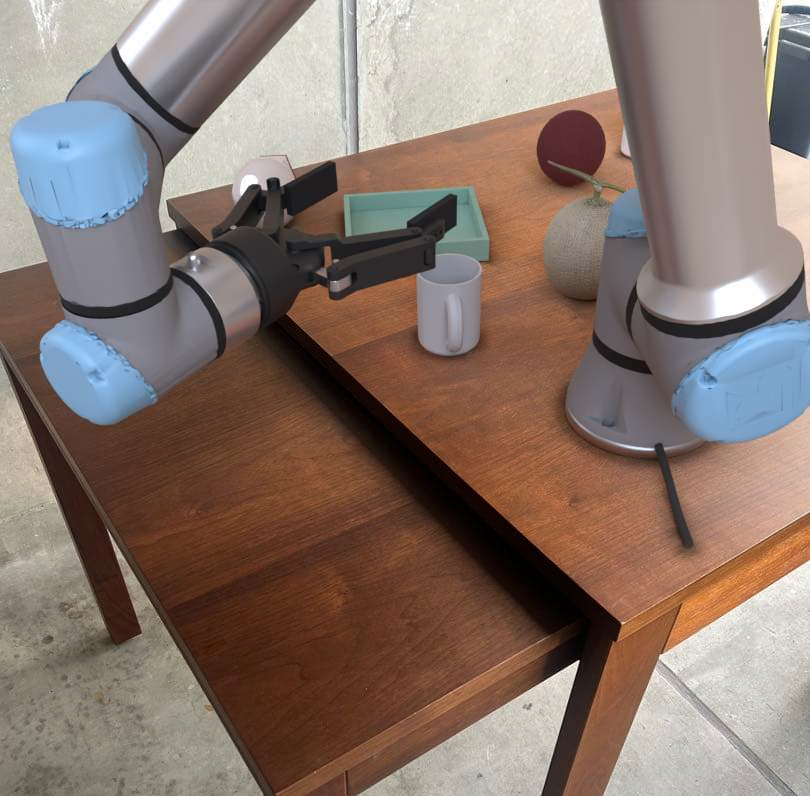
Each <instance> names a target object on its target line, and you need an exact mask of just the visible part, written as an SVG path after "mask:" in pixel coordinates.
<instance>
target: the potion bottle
mask: <svg viewBox="0 0 810 796" xmlns="http://www.w3.org/2000/svg"><path fill="white" fill-rule="evenodd" d="M272 177H276V178H279V179H280V186H283V185H285V184H287V183H289V182H291V181H292V180H294V179H296V178H297V177H296V175H295V172H294V170H293V167H292V165H291V162H290V160H289V158H288V156H287V154H271V155H259V156H255V158H254V159H250V160H248V161H247V162H246V163H245V164H244V165H243V166H242V167H241V168H239V169H238V170H237V171H236V172H235V173H234V176H233V181H232V188H231V193H230V196H231V199H232V202H233V205H234V206H235V205H236V203H237V202H238V200H239V199H240V198H241V196H242V195H243V193H244V192H245V190H246V189H247V187H248V186H249V185H251V184H259V185H261V189H262V190H267V183H266V180H267V179H268V178H272ZM265 212H266V211H265ZM264 216H265V213H264V215H263V216H262V218H261V220H260V221H259V223H258V225H257V226H256V229H259V230H262V227H263V221H264ZM295 216H297V215H295ZM295 216H294V217H293V216H290V215H287V209H284V227H285V226H286V225H287V224H288V223H290V222H291V221H292V220H293V219H294V218H295Z"/></svg>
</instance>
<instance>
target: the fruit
mask: <svg viewBox="0 0 810 796" xmlns="http://www.w3.org/2000/svg"><path fill="white" fill-rule="evenodd" d="M548 163H549V164H551V165H554V166H556V167H558V168H560V169H563V170H565V171H567V172H569V173H571V174H573V175H576V176H578V177H580V178H582V179H584V180H585V181H586V182H587V183H588V184H590V185H591V186H592V187H593V189H594V190H593V191H594V192H593V195H592V196H583V197H578V198H576V199H574V200H572V201H570V202H568V203H566V204H564V206H563V207H562V208H560V209H559V210H558V211H557V212H556V214H555V215H554V216H553V217H552V219H551V220H550V223H549V225H548V227H547V229H546V232H545V235H544V239H543V245H542V261H543V265H544V269H545V272H546V275H547V277H548V279H549V281H550V283H551V284H552V286H554V288H555V289H556V290H557V291H558V292H560V293H561V294H562V295H564V296H566V297H568V298H572V299H576V300H582V301H589V300H597V295H598V288H599V280H600V272H601V264H602V256H603V249H604V241H605V236H604V230H605V229H606V227H607V223H608V219H609V214H610V209H611V206H612V204H613V202H612V201H610V200H609V199H606V198H603V197H601V195H602V192H603V189H611V190H614V191H616V192H617V191H618V192H620V193H621V194H622V193H624V192H626V191H627V190H626V189H624V188H622V187H620V186H617V185H616V184H612V183H609V182H605V181H603V180H600V179H597V178H596V177H593V176H589V175H587V174H585V173H582V172H579V171H577V170H574V169H571V168H568V167H565V166H561V165H558V164H556V163H554V162H551V161H549V160H548Z"/></svg>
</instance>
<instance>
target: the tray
mask: <svg viewBox="0 0 810 796" xmlns="http://www.w3.org/2000/svg"><path fill="white" fill-rule="evenodd" d="M448 194H454V195H457V226H455V227H454V228H452V229H451V230H449V231H448V232H446V233H445V236H444V238H443V239H442V240H440V241H439V242H437V243H436V255H439V254H462V255H466V256H469V257H471V258H474V259H475V260H477V261H478V262H487V261H490V242H491V240H490V236H489V233H488V230H487V226H486V222H485V220H484V217H483V213H482V210H481V207H480V204H479V201H478V198H477V195H476V191H475V187H474V185H470V186H453V187H440V188H439V187H438V188H424V189H423V188H422V189H407V190H393V191H391V190H390V191H378V192H364V193H361V192H360V193H349V194H347V193H346V194H343V196H342V197H343V212H344V229H345V237H347V236H354V235H361V234H368V233H375V232H383V231H390V230H397V229H404V228H407V221H409V220H410V219H412V218H413V217H415V216H416V215H418V214H419V213H421V212H422V211H424V210H425V209H427V208H428V207H430V206H432V205H433V204H435V203H436V202H438V201H439V200H441V199H442V198H444V197H445V196H447V195H448Z"/></svg>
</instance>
